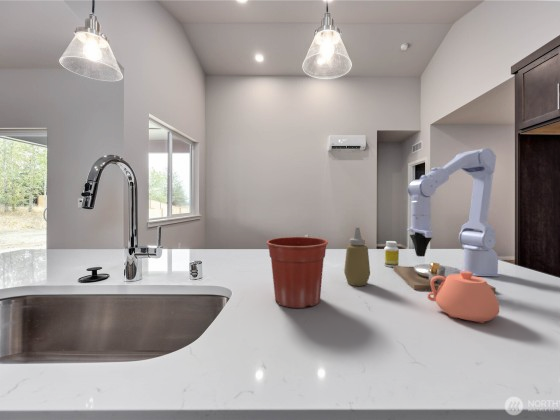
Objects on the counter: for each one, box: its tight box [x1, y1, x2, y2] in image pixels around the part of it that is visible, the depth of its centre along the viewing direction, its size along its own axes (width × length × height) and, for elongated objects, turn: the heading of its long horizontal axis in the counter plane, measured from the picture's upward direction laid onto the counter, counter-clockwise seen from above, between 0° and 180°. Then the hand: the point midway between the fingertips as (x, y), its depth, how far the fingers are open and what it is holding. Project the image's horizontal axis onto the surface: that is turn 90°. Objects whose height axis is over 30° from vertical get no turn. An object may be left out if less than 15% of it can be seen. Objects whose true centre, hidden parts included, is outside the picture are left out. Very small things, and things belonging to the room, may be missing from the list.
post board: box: [392, 265, 497, 294], centre depth 89 cm, size 22×22×6 cm
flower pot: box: [266, 236, 329, 309], centre depth 72 cm, size 16×16×16 cm
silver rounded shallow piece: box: [413, 262, 461, 281], centre depth 88 cm, size 17×14×4 cm
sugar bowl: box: [427, 271, 500, 324], centre depth 63 cm, size 12×14×10 cm
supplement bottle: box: [383, 240, 400, 268], centre depth 108 cm, size 5×5×10 cm
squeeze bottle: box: [343, 227, 371, 287], centre depth 86 cm, size 8×8×18 cm
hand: (420, 256), depth 90 cm, fingers closed
